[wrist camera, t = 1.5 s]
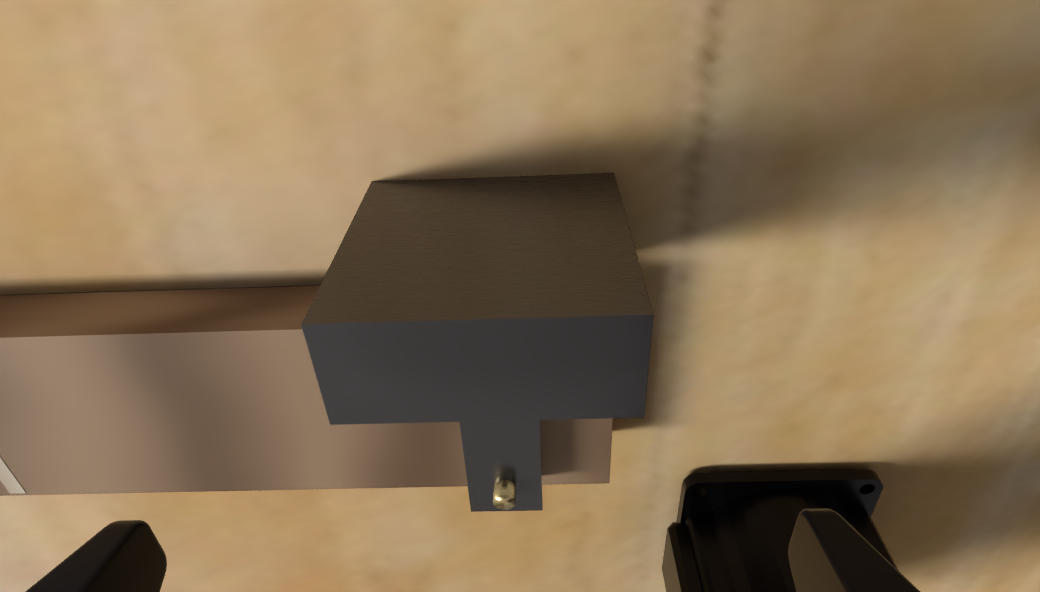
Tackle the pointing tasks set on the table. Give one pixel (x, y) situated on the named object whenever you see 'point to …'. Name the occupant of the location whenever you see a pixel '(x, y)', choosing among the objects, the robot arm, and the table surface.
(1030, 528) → the table surface
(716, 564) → the robot arm
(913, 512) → the table surface
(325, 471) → the walnut board
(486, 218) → the marking gauge
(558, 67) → the table surface
